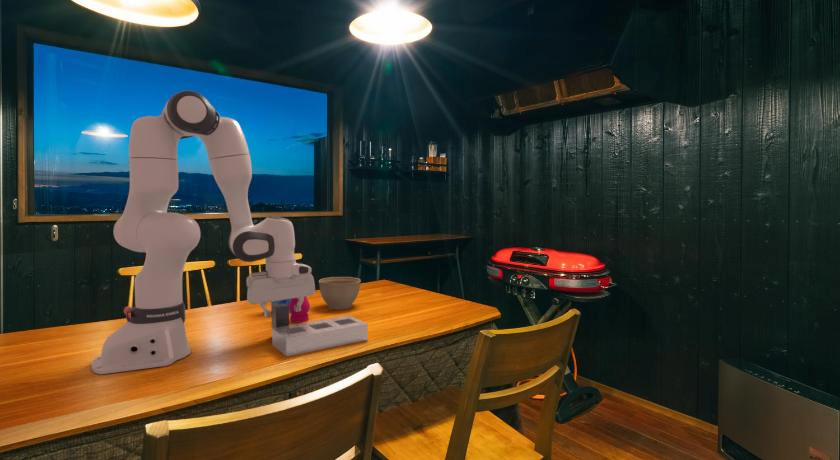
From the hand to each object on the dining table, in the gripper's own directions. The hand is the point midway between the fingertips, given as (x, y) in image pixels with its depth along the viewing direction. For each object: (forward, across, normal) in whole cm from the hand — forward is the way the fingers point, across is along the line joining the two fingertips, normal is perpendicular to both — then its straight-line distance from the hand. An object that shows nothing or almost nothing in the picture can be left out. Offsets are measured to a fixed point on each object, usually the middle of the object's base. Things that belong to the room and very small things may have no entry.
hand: (282, 313), depth 140 cm
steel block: (+7, -1, 0) cm, 7 cm away
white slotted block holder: (+7, +7, -12) cm, 16 cm away
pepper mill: (+8, +11, +16) cm, 21 cm away
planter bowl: (+9, +31, +25) cm, 41 cm away
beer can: (+8, +10, +30) cm, 33 cm away
